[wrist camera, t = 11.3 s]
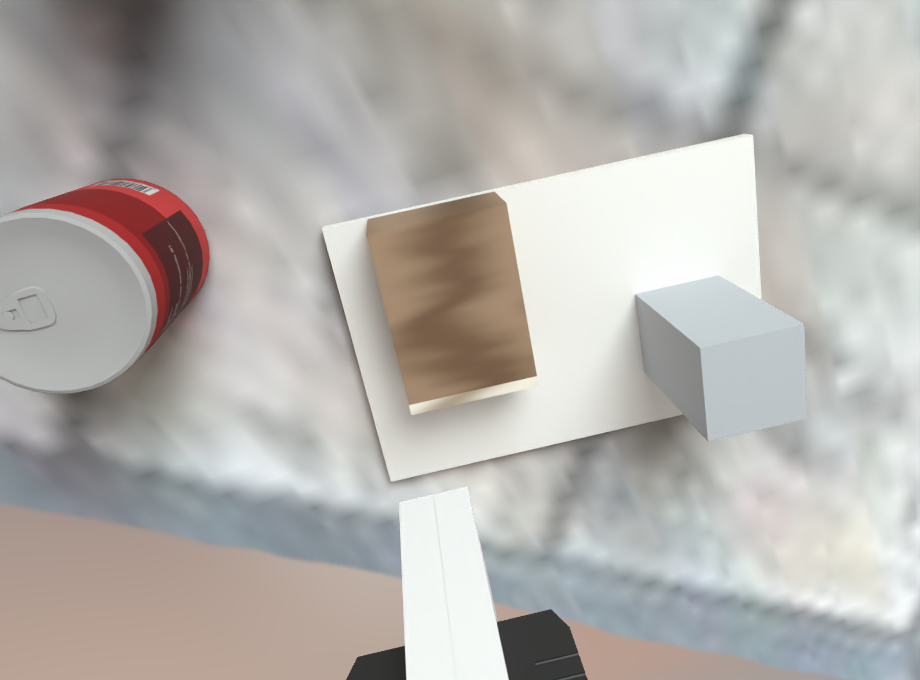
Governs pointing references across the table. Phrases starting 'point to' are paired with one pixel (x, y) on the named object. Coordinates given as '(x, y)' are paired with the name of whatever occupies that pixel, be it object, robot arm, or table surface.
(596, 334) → the board
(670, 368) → the grey block
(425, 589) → the robot arm
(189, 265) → the canned food
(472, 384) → the walnut block
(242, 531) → the table surface
